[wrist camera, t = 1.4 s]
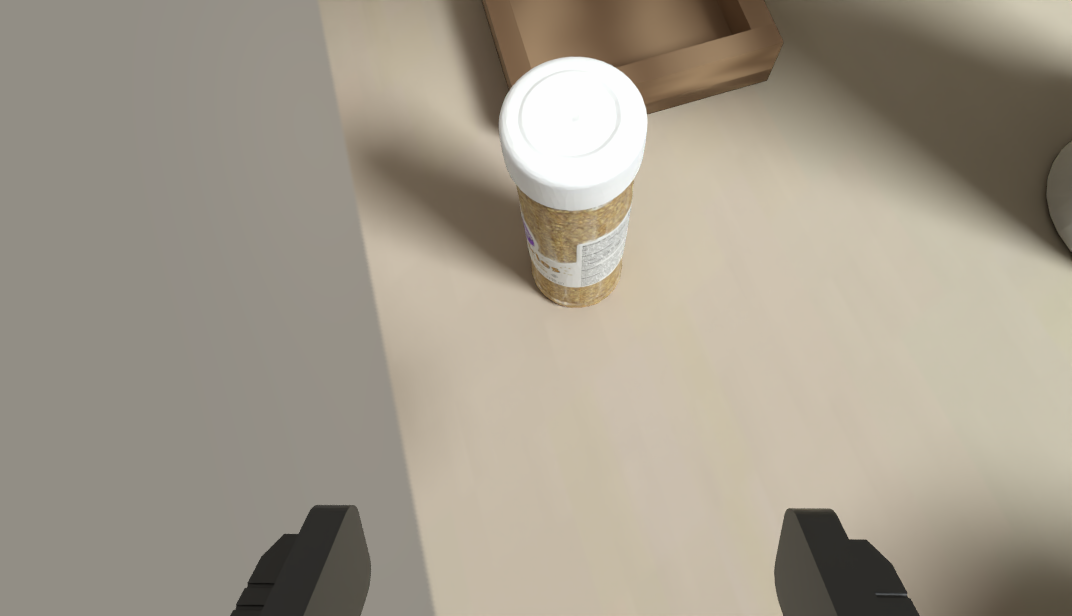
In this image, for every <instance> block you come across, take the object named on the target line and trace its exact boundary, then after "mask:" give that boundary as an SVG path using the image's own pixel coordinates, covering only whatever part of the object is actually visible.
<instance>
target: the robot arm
mask: <svg viewBox="0 0 1072 616" xmlns="http://www.w3.org/2000/svg"><path fill="white" fill-rule="evenodd" d="M1046 197H1047V202H1048V207H1049V213H1050V216H1051V218H1052V221H1053V223H1054V225H1055V227H1056V230H1057V232H1058V234H1059V235H1060V237H1061V238H1062V239H1063V241H1064V242H1065V244H1066V245H1067V247H1068V248H1069V249H1070V251H1071V252H1072V141H1071V142H1070V143H1068V144H1067V145H1066V146H1065V147H1064V148H1063V149H1062V150H1061V152H1060V153H1059V154H1058V156H1057V157H1056V159H1055V160H1054V162H1053V164H1052V167H1051V170H1050V173H1049V176H1048V179H1047V195H1046ZM370 576H371V563H370V557H369V553H368V548H367V544H366V541H365V537H364V532H363V528H362V524H361V520H360V516H359V512H358V509H357V507H356V506H354V505H316V506H314V507H313V508H312V509H311V510H310V512H309V514H308V516H307V518H306V520H305V522H304V524H303V526H302V528H301V530H300V532H299V534H284V535H283V536H282V537H281V538H280V539H279V540H278V541H277V542H276V543H275V544H274V545H273V546H272V547H271V548H270V549H269V550H268V551H267V552H266V553H265V554H264V555H263V556H262V557H261V559H260V560H259V562H258V564H257V566H256V568H255V570H254V572H253V574H252V576H251V577H250V579H249V582H248V587H247V588H245V589H244V591H243V593H242V595H241V596H240V598H239V600H238V602H237V604H236V610H233V612H232V614H231V615H230V616H360V615H361V612H362V609H363V606H364V603H365V600H366V596H367V593H368V589H369V584H370ZM774 576H775V586H776V592H777V597H778V601H779V604H780V607H781V610H782V613H783V616H919V614H918V612H917V610H916V608H915V606H914V604H913V603H912V601H911V599H910V598H908V597H907V591H906V590H905V588H904V586H903V584H902V582H901V580H900V578H899V577H898V575H897V573H896V571H895V569H894V567H893V565H892V564H891V563H890V562H889V561H888V560H887V559H886V558H885V557H884V556H883V555H882V554H881V553H880V552H879V551H878V550H877V549H876V548H875V547H874V546H873V545H871V544H870V543H869V542H868V541H867V540H849V539H848V537H847V535H846V533H845V531H844V529H843V527H842V524H841V522H840V520H839V518H838V516H837V515H836V513H835V512H834V511H833V510H832V509H796V508H789V509H787V510H786V512H785V515H784V520H783V525H782V530H781V535H780V540H779V545H778V551H777V556H776V561H775V569H774Z"/></svg>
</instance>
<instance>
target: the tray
mask: <svg viewBox="0 0 1072 616" xmlns="http://www.w3.org/2000/svg"><path fill="white" fill-rule="evenodd" d="M482 3H483V7H484V10H485V13H486V16H487V20H488V23H489V26H490V30H491V33H492V36H493V39H494V43H495V46H496V49H497V53H498V56H499V59H500V62H501V66H502V69H503V72H504V76H505V79H506V82H507V85H508V89H509V90H510V89H511V87H512V86H513V85H514V84H515V83H516V81H517V80H518V79H520V78H521V77H522V76H523V75H524V74H525V73H527V72H528V71H529V70H531V69H532V68H534V67H536V66H538V65H540V64H542V63H545V62H547V61H550V60H554V59H558V58H564V57H587V58H592V59H596V60H600V61H603V62H605V63H607V64H610V65H612V66H613V67H615V68H617V69H618V70H620V71H621V72H623V73H624V74H625V75H626V76H627V77H628V78H629V79H630V80H631V81H632V82H633V83H634V85H635V86H636V87H637V89H638V90H639V92H640V94H641V96H642V98H643V101H644V104H645V107H646V112H647V114H650V113H654V112H657V111H661V110H664V109H668V108H671V107H675V106H678V105H682V104H686V103H689V102H693V101H696V100H700V99H703V98H707V97H710V96H714V95H717V94H721V93H724V92H728V91H731V90H735V89H739V88H742V87H746V86H749V85H753V84H756V83H760V82H763V81H767V79H768V77H769V74H770V72H771V70H772V68H773V65H774V63H775V61H776V59H777V56H778V54H779V52H780V50H781V47H782V45H783V43H784V42H783V40H782V38H781V36H780V33H779V31H778V29H777V27H776V25H775V23H774V21H773V19H772V16H771V14H770V12H769V10H768V8H767V6H766V4H765V2H764V0H482Z"/></svg>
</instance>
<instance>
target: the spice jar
mask: <svg viewBox="0 0 1072 616" xmlns="http://www.w3.org/2000/svg"><path fill="white" fill-rule="evenodd" d="M646 134H647V112H646V107H645V104H644V101H643V98H642V96H641V94H640V92H639V90H638V89H637V87H636V86H635V85H634V83H633V82H632V81H631V80H630V79H629V78H628V77H627V76H626V75H625V74H624V73H623V72H621V71H620V70H618V69H617V68H615V67H613V66H612V65H610V64H607V63H605V62H603V61H600V60H596V59H592V58H587V57H564V58H558V59H554V60H550V61H547V62H545V63H542V64H540V65H538V66H536V67H534V68H532V69H531V70H529V71H528V72H527V73H525V74H524V75H523V76H522V77H521V78H520V79H518V80H517V81H516V83H515V84H514V85H513V86H512V87H511V89H510V90H509V92H508V93H507V95H506V97H505V99H504V102H503V105H502V107H501V111H500V115H499V136H500V142H501V148H502V153H503V156H504V160H505V164H506V167H507V170H508V172H509V174H510V176H511V178H512V180H513V181H514V182H515V184H516V186H517V190H518V195H519V201H520V210H521V215H522V219H523V224H524V228H525V233H526V238H527V244H528V249H529V253H530V257H531V259H532V262H531V265H532V275H533V277H534V280H535V283H536V285H537V287H538V288H539V289H540V291H541V292H542V293H543V294H544V295H545V296H546V297H547V298H549V299H550V300H552V301H553V302H555V303H557V304H558V305H562V306H566V307H571V308H574V307H579V308H581V307H586V306H590V305H594V304H597V303H599V302H600V301H601V300H603V299H604V298H606V297H607V296H608V295H609V294H610V293H611V292H612V291H613V290H614V289H615V287H616V285H617V283H618V281H619V279H620V273H621V269H622V261H621V257H622V255H623V251H624V247H625V241H626V235H627V229H628V223H629V217H630V210H631V204H632V199H633V183H634V177H635V176H636V174H637V172H638V170H639V168H640V165H641V162H642V158H643V153H644V148H645V142H646Z"/></svg>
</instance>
